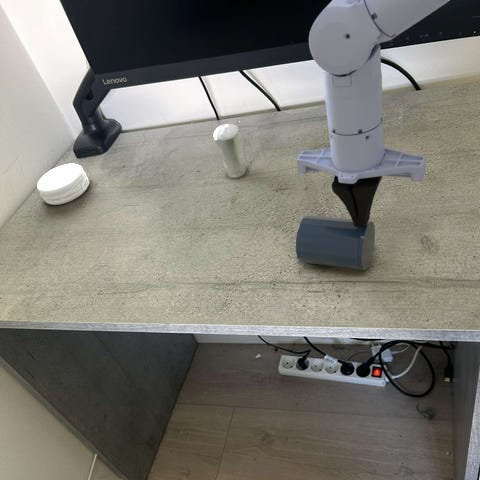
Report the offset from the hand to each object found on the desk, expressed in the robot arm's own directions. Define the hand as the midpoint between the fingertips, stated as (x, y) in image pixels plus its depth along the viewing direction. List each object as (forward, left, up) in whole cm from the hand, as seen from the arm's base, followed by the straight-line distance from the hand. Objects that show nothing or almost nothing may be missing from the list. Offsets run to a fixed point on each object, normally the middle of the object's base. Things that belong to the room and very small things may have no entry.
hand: (362, 222), depth 62 cm
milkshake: (+19, -28, -7) cm, 35 cm away
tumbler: (-1, 0, -4) cm, 4 cm away
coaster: (+56, -33, -7) cm, 66 cm away
